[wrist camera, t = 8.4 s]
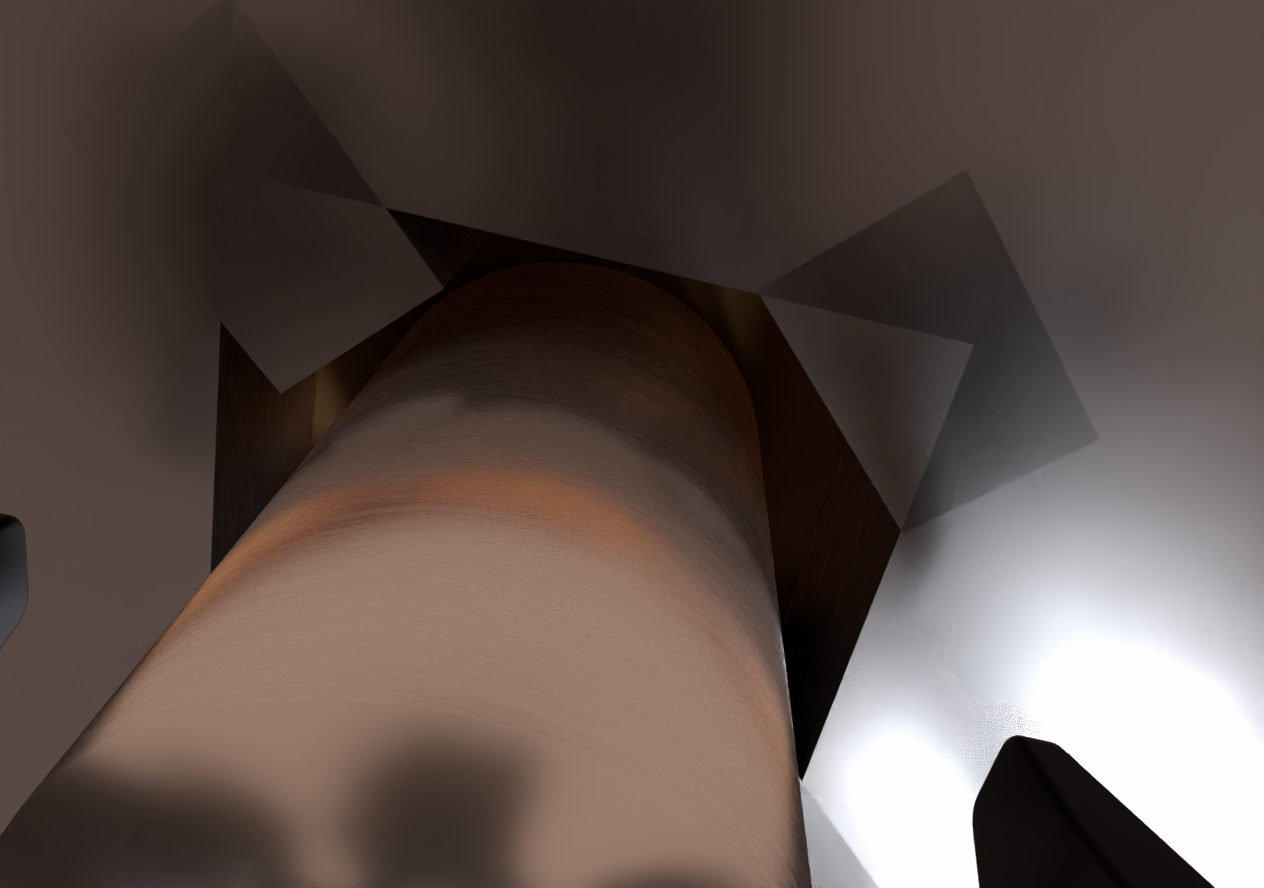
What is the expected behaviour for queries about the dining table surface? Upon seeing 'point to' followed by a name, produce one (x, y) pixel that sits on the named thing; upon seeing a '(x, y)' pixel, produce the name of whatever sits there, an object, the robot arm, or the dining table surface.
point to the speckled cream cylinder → (471, 635)
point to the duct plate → (719, 254)
